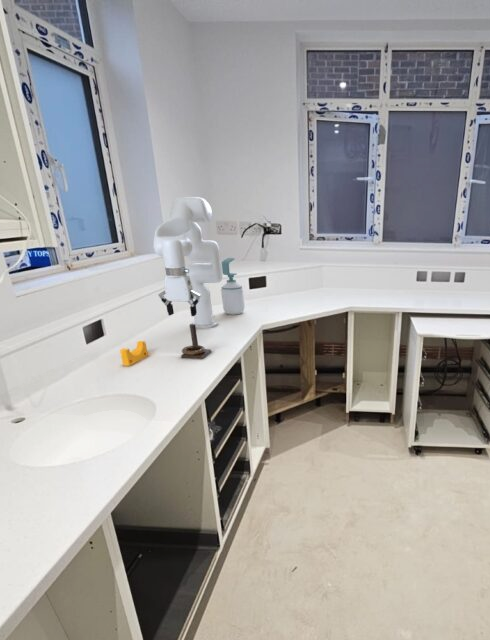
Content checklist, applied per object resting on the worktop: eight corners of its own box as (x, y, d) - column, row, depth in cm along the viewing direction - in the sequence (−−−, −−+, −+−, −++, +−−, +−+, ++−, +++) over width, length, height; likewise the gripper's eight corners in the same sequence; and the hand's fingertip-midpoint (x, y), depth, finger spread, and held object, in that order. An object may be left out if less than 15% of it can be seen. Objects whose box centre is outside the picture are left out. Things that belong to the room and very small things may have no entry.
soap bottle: (249, 312, 240) (244, 258, 228) (234, 316, 230) (228, 260, 218) (234, 309, 246) (229, 256, 234) (219, 313, 236) (212, 258, 224)
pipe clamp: (139, 355, 169) (136, 340, 166) (148, 356, 168) (145, 341, 165) (119, 365, 158) (116, 349, 155) (129, 366, 157) (125, 350, 155)
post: (191, 351, 174) (186, 321, 169) (211, 351, 174) (207, 322, 168) (181, 358, 166) (176, 327, 161) (202, 359, 165) (198, 327, 160)
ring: (188, 348, 174) (187, 344, 173) (208, 349, 173) (208, 345, 172) (178, 355, 166) (177, 351, 165) (199, 356, 165) (199, 352, 164)
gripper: (201, 271, 159) (206, 313, 166) (160, 270, 161) (167, 312, 168) (193, 274, 152) (198, 318, 159) (150, 272, 154) (157, 316, 161)
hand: (182, 315), depth 164 cm, fingers open, 9 cm apart
